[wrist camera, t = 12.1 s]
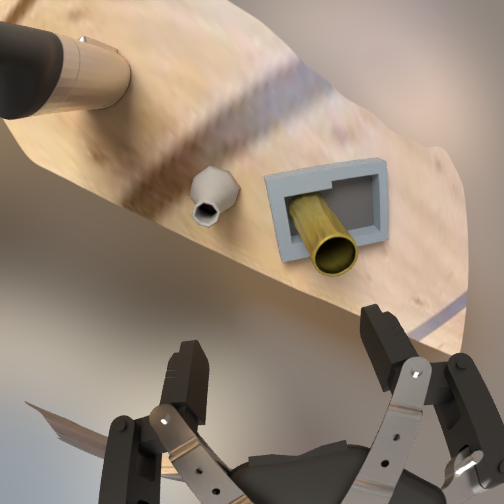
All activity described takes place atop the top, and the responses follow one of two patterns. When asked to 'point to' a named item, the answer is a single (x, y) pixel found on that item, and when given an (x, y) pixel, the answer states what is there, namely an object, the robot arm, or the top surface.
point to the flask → (212, 194)
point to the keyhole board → (333, 201)
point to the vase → (323, 234)
